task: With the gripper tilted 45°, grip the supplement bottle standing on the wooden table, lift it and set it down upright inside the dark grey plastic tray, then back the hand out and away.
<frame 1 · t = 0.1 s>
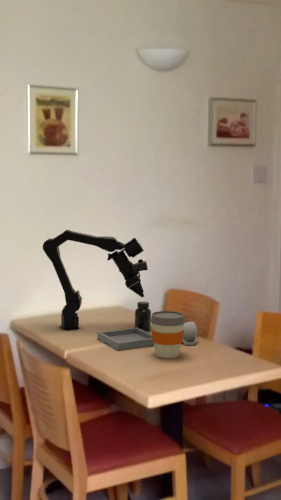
hand: (143, 294, 269), 15 cm above the table, tool tilted 35°, fingers open, 9 cm apart
ceramic mug: (186, 342, 252), on the table
supplement bottle: (142, 330, 269), on the table
reusable coffee cup: (167, 354, 235), on the table
tray: (128, 342, 251), on the table
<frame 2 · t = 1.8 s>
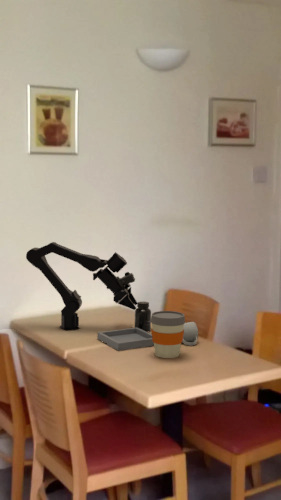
hand: (136, 306, 268), 10 cm above the table, tool tilted 45°, fingers open, 9 cm apart
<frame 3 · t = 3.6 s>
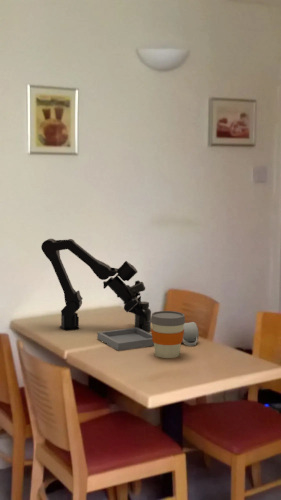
hand: (146, 315, 268), 7 cm above the table, tool tilted 45°, fingers closed on supplement bottle, 7 cm apart
supplement bottle: (142, 330, 269), on the table, touching gripper
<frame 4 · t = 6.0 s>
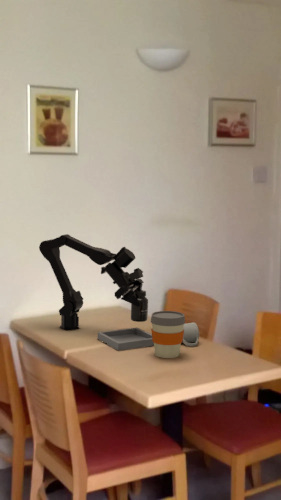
hand: (142, 304, 257), 13 cm above the table, tool tilted 45°, fingers closed on supplement bottle, 7 cm apart
supplement bottle: (139, 320, 259), point 6 cm above the table, touching gripper
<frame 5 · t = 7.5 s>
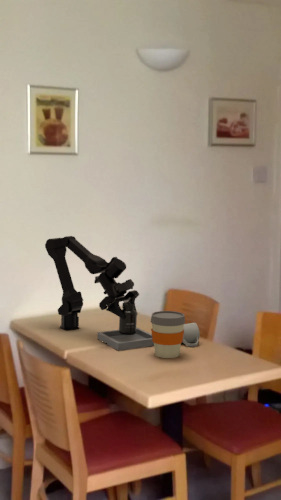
hand: (130, 317, 249), 10 cm above the table, tool tilted 45°, fingers closed on supplement bottle, 7 cm apart
supplement bottle: (127, 333, 250), point 3 cm above the table, touching gripper
when the fingers open (9 cm above the table, at t = 8.4 s): supplement bottle drops 1 cm, resting on tray.
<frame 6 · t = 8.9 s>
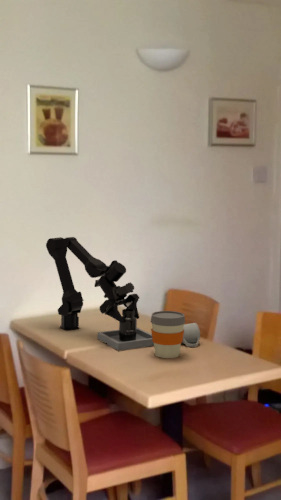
hand: (131, 320, 249), 9 cm above the table, tool tilted 45°, fingers open, 9 cm apart
supplement bottle: (127, 340, 251), point 1 cm above the table, touching tray
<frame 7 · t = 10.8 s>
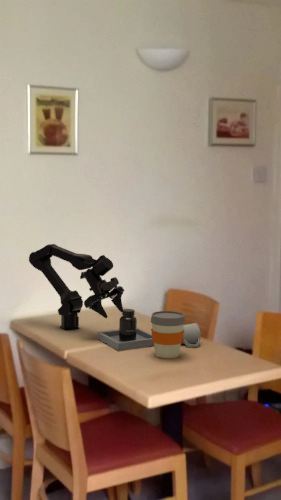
hand: (114, 314, 256), 9 cm above the table, tool tilted 40°, fingers open, 9 cm apart
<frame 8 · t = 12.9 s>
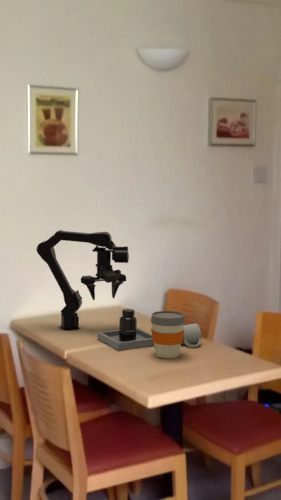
hand: (103, 299, 268), 13 cm above the table, tool pointing down, fingers open, 9 cm apart
at the end: supplement bottle inside the target area on the tray (0.1 cm from its centre), point 0.6 cm above the tray's base; supplement bottle tilted 0°; the gripper is holding nothing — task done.
